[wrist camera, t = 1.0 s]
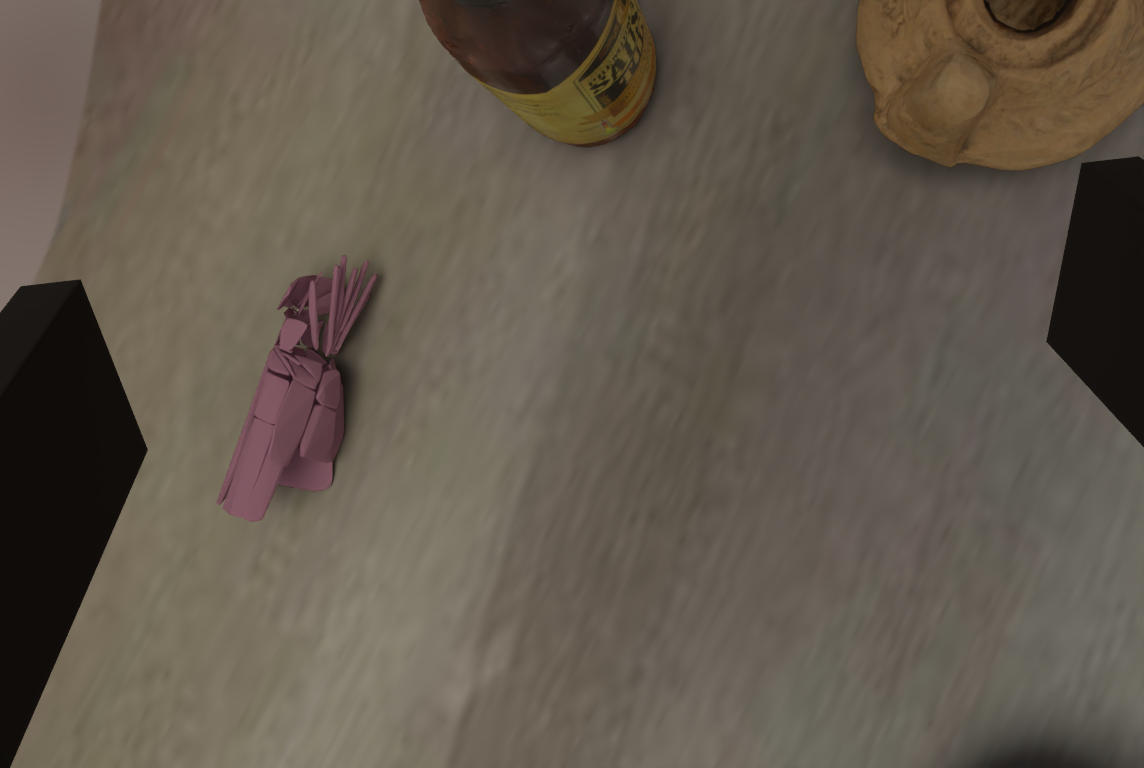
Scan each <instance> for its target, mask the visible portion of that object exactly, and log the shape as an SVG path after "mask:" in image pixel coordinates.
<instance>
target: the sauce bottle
mask: <svg viewBox="0 0 1144 768" xmlns="http://www.w3.org/2000/svg"><path fill="white" fill-rule="evenodd" d="M419 1H420V4H421V6H422V10H423V13H424V15H425V17H426V21H427V23H428V25H429V26H430V28H431V30H432V32H433V33H434V35H435V36H436V37H437V39H438V40H439V42H440V43H441V44H442V45H443V46H444V48H446V49H447V50H448V51H449V53H450V54H451V55H452V56H453V57H454V58H455V59H456V60H457V61H458V62H459V64H460V65H461V66H462V67H463V68H464V69H465V70H466V71H467V72H468V73H469V74H470V75H471V76H472V77H474V78H475V79H476V80H477V81H478V82H479V83H481V84H482V85H483V86H484V87H485V88H486V89H488V90H489V91H490V92H491V93H493V94H494V95H495V96H496V97H497V98H498V99H499V100H501V101H502V102H503V103H504V104H505V105H506V106H507V107H509V108H510V109H511V110H512V111H513V112H514V113H515V114H516V115H517V116H519V117H520V118H521V119H522V120H523V121H525V122H526V123H527V124H528V125H529V126H531V127H532V128H533V129H535V130H536V131H537V132H539V133H541V134H542V135H544V136H546V137H548V138H550V139H553V140H556V141H559V142H562V143H566V144H569V145H574V146H580V147H592V146H598V145H603V144H606V143H608V142H610V141H612V140H614V139H616V138H618V137H619V136H620V135H622V134H624V133H625V132H626V131H627V130H629V129H631V128H632V127H633V126H634V125H635V124H636V123H637V122H638V120H639V119H640V117H641V115H642V114H643V112H644V110H645V109H646V106H647V104H648V102H649V99H650V97H651V94H652V92H653V91H654V80H655V77H656V51H655V45H654V41H653V38H652V35H651V32H650V30H649V28H648V25H647V23H646V20H645V18H644V16H643V13H642V11H641V9H640V6H639V4H638V2H637V0H419Z"/></svg>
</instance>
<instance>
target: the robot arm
mask: <svg viewBox="0 0 1144 768" xmlns="http://www.w3.org/2000/svg"><path fill="white" fill-rule="evenodd" d="M1047 343H1048V344H1049V345H1050V346H1051V347H1052V348H1053V349H1054V350H1055V352H1056V353H1057V354H1058V355H1059V356H1060V357H1061V358H1062V359H1063V360H1064V361H1065V362H1066V363H1067V365H1068V366H1069V367H1070V368H1071V369H1072V370H1073V371H1074V372H1075V373H1076V374H1077V375H1078V377H1079V378H1080V379H1081V380H1082V381H1083V382H1084V383H1085V384H1086V385H1087V386H1088V387H1089V388H1090V390H1091V391H1092V392H1093V393H1094V394H1095V395H1096V396H1097V397H1098V398H1099V399H1100V400H1101V401H1102V403H1103V404H1104V405H1105V406H1106V407H1107V408H1108V409H1109V410H1110V411H1111V412H1112V413H1113V414H1114V416H1115V417H1116V418H1117V419H1118V420H1119V421H1120V422H1121V423H1122V424H1123V425H1124V426H1125V428H1126V429H1127V430H1128V431H1129V432H1130V433H1131V434H1132V435H1133V436H1134V437H1135V438H1136V439H1137V441H1138V442H1139V443H1140V444H1141V445H1142V446H1143V447H1144V160H1143V159H1142V158H1140V157H1139V156H1138V157H1130V158H1121V159H1112V160H1104V161H1095V162H1087V163H1081V169H1080V174H1079V179H1078V184H1077V189H1076V194H1075V199H1074V204H1073V209H1072V214H1071V219H1070V225H1069V230H1068V235H1067V240H1066V245H1065V250H1064V255H1063V260H1062V265H1061V270H1060V276H1059V281H1058V286H1057V291H1056V296H1055V301H1054V306H1053V311H1052V316H1051V321H1050V326H1049V332H1048V337H1047ZM147 451H148V449H147V447H146V444H145V442H144V439H143V436H142V434H141V431H140V429H139V426H138V424H137V421H136V419H135V416H134V414H133V411H132V409H131V406H130V404H129V401H128V399H127V396H126V393H125V391H124V388H123V386H122V383H121V381H120V378H119V376H118V373H117V371H116V368H115V366H114V363H113V361H112V358H111V355H110V353H109V350H108V348H107V345H106V343H105V340H104V338H103V335H102V333H101V330H100V328H99V325H98V323H97V320H96V317H95V315H94V312H93V310H92V307H91V305H90V302H89V300H88V297H87V295H86V292H85V290H84V287H83V285H82V282H81V279H80V280H72V281H63V282H55V283H46V284H37V285H29V286H21V287H20V288H19V289H18V290H17V292H16V293H15V294H14V296H13V297H12V298H11V299H10V301H9V302H8V303H7V305H6V306H5V307H4V309H3V310H2V311H1V312H0V768H10V766H11V764H12V762H13V759H14V757H15V755H16V753H17V750H18V748H19V746H20V743H21V741H22V739H23V736H24V734H25V732H26V729H27V727H28V725H29V723H30V720H31V718H32V716H33V713H34V711H35V709H36V706H37V704H38V702H39V700H40V697H41V695H42V693H43V690H44V688H45V686H46V683H47V681H48V679H49V676H50V674H51V672H52V670H53V667H54V665H55V663H56V660H57V658H58V656H59V653H60V651H61V649H62V646H63V644H64V642H65V640H66V637H67V635H68V633H69V630H70V628H71V626H72V623H73V621H74V619H75V617H76V614H77V612H78V610H79V607H80V605H81V603H82V600H83V598H84V596H85V593H86V591H87V589H88V587H89V584H90V582H91V580H92V577H93V575H94V573H95V570H96V568H97V566H98V563H99V561H100V559H101V557H102V554H103V552H104V550H105V547H106V545H107V543H108V540H109V538H110V536H111V534H112V531H113V529H114V527H115V524H116V522H117V520H118V517H119V515H120V513H121V510H122V508H123V506H124V504H125V501H126V499H127V497H128V494H129V492H130V490H131V487H132V485H133V483H134V481H135V478H136V476H137V474H138V471H139V469H140V467H141V464H142V462H143V460H144V457H145V455H146V453H147Z"/></svg>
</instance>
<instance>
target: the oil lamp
mask: <svg viewBox="0 0 1144 768" xmlns="http://www.w3.org/2000/svg"><path fill="white" fill-rule="evenodd" d="M856 43H857V49H858V53H859V55H860V58H861V61H862V65H863V69H864V72H865V75H866V79H867V81H868V82H869V84H870V86H871V88H872V91H873V93H874V101H875V110H874V116H873V118H874V121H875V124H876V126H877V127H878V128H879V130H880V131H881V132H882V133H883V134H884V135H885V136H886V137H887V138H889V139H890V140H891V141H893V142H895V143H896V144H898V145H899V146H900V147H902V148H903V149H905V150H907V151H908V152H910V153H912V154H915V155H919V156H922V157H925V158H927V159H930V160H932V161H934V162H937V163H939V164H941V165H943V166H947V167H952V166H953V165H955V164H957V163H967V164H974V165H979V166H985V167H989V168H995V169H1001V170H1020V171H1021V170H1027V169H1033V168H1038V167H1042V166H1047V165H1051V164H1054V163H1058V162H1061V161H1064V160H1067V159H1070V158H1072V157H1075V156H1077V155H1079V154H1081V153H1082V152H1084V151H1086V150H1087V149H1089V148H1090V147H1092V146H1093V145H1095V144H1096V143H1097V142H1098V141H1100V140H1101V139H1102V138H1104V137H1105V136H1106V135H1107V134H1109V133H1110V132H1111V131H1113V130H1114V129H1115V128H1116V127H1117V126H1118V125H1120V124H1121V123H1122V122H1123V121H1124V120H1125V119H1127V118H1128V117H1129V116H1130V115H1131V114H1132V113H1133V112H1134V111H1136V110H1137V109H1138V108H1139V107H1140V106H1141V105H1142V104H1144V0H860V3H859V7H858V14H857V29H856Z"/></svg>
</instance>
